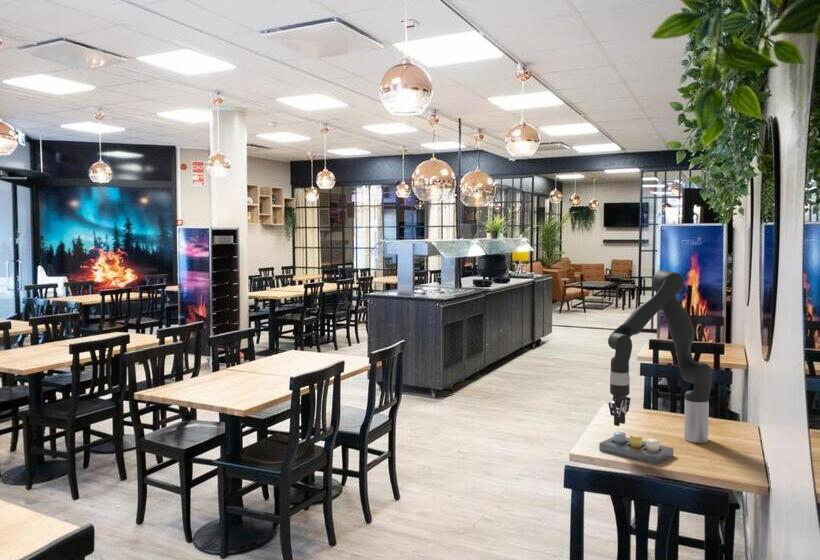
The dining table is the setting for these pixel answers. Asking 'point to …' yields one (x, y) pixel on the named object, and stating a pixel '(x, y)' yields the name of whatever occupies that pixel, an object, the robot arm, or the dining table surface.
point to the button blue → (620, 438)
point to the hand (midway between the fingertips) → (619, 424)
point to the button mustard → (636, 441)
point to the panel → (636, 451)
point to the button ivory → (652, 445)
